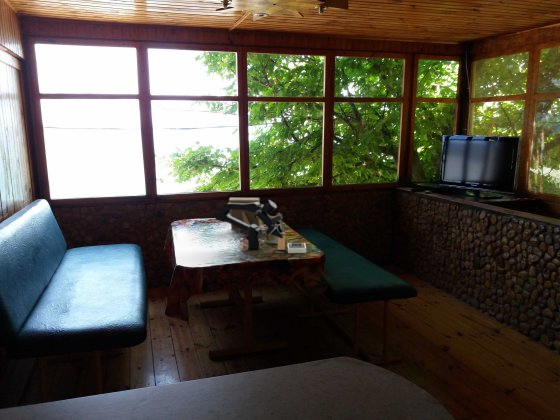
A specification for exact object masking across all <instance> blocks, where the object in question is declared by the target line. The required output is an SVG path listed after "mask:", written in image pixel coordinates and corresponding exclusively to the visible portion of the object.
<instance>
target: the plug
mask: <svg viewBox="0 0 560 420" xmlns="http://www.w3.org/2000/svg"><path fill="white" fill-rule="evenodd" d="M280 233H281V235H282V236H283V238H280V237H278V244H277V250H278V251H279V250H280V251H281V250H283V251H285V250H286V232H285V231H283V232H280Z"/></svg>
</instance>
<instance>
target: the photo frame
mask: <svg viewBox="0 0 560 420" xmlns="http://www.w3.org/2000/svg"><path fill="white" fill-rule="evenodd" d="M252 202H259V203H260V197H229V199H228V203H246V204H247V203H252ZM260 204H261V203H260ZM259 211H261V210H259ZM259 211H257V212H249V211H247V210H234V209H230V211H229V214H230V216H232V217H234V218H236V219H238V220H240V221H242V222H244V223H246V224H248V225H252V224H255V225H257V226H260V228H261V229H262V226H261V225H262V221H261V220H260V219H259V218H258V217H256V218H254V214H255V213H258V212H259ZM230 229H231V231H243V230H242V229H240V228H238V227H236V226H234V225H232V224H230ZM245 233H246V234H247V232H246V231H245Z"/></svg>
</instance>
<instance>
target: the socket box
mask: <svg viewBox="0 0 560 420" xmlns="http://www.w3.org/2000/svg"><path fill="white" fill-rule="evenodd" d="M287 253H288V254H306V253H307V246H306V242H287Z"/></svg>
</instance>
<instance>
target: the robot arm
mask: <svg viewBox="0 0 560 420" xmlns="http://www.w3.org/2000/svg"><path fill="white" fill-rule="evenodd" d="M277 208H278V206H277V204H276V203H275V202H273V201H272V200H270V199H268V200H267V201H266V202H265V203H264V204H262V203H259V202H252V203H247V204H246V203H229V202H227V203H224V205H223V206H222V207H221V208H220V209H219V210H218V211H215V212H214V218H215V220H217V221H218V222H219V221H220V222H223V223H228V224H230V225H231V224H232V225H234V226H236V227H238V228H240V229H242V230H241V231H243V232H245V233H246V232H247V233H246V234H247V236H245V237H246V241H247V245H248V246H247V247H248V248H247V250H249V251H250V250H255V251H256V250H257V251H258V250H259V248H260V240H259V238H260V236H261V235H263V229H262V227H261V228H260V226H257V225H255V224H252V225H248V224H246V223H244V222H242V221H240V220H238V219H236V218H234V217H232V216H230V209H234V210H247V211H249V212H257V211H259V210H260V211H259V212H258V213H255V214H254V218H256V217H258V218H259V219H260V220H261V223H262V225H265V227H266V226H267V227H268V229H267V230H266V229H265V234H266V233H267V234H268V235H269V234H270V233H271V232H272V233H271V234H272V235H275V236H277V237H280V238H283V236H282V235H281V233H280V232H284V231H283V228H282V229H281V224H280V223H281V221H280V220H282V221H283V219H284V218H283V214H282V213H280V212H277V213H276V214H275V216H272V215H270V214H272V213H273V212H274V211H275V210H276V209H277ZM279 224H280V225H279Z"/></svg>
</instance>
